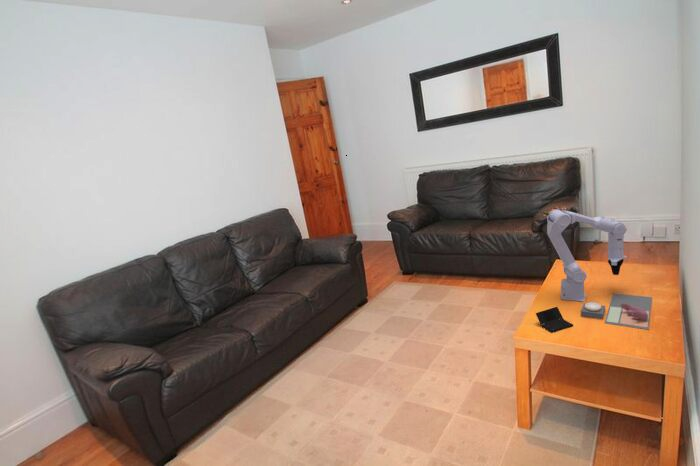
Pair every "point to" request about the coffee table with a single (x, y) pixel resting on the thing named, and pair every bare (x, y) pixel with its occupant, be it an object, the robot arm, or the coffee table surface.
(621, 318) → the grey flat board
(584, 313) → the button housing
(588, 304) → the button
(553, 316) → the handheld gaming console
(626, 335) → the coffee table surface
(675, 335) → the coffee table surface
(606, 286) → the coffee table surface
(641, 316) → the video game controller
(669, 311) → the coffee table surface
